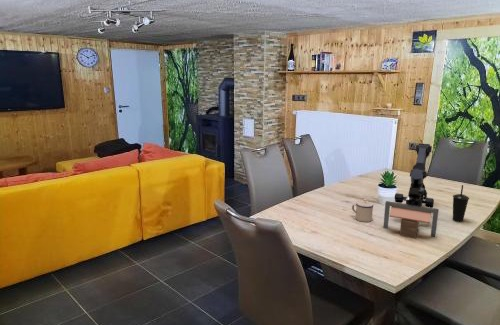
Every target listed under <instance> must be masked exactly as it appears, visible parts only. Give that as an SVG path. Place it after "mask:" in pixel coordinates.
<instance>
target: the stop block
mask: <svg viewBox="0 0 500 325" xmlns="http://www.w3.org/2000/svg"><path fill="white" fill-rule="evenodd" d="M419 226H420V222H417V221H411V220H406V219H400V230H399V236H401V237H406V238H410V239H416V237H417V234H418V231H419Z"/></svg>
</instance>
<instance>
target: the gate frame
mask: <svg viewBox="0 0 500 325" xmlns="http://www.w3.org/2000/svg"><path fill="white" fill-rule="evenodd" d="M384 205H385V206H384V216H383V229H388V228H389V222H390V221H389V219H390V217H389V215H390V211H391V207H399V208H405V209H411V210H417V211H424V212H430V213H431V214H433V215H432V223H431V230H430V238H436V236H437V235H436V234H437V233H436V232H437V226H438V225H437V224H438V218H439V208H434V207H433V208H430V207H426V206H423V205H422V206H423V207H422V206H415V205H409V204H406V203H403V202H402V203H398V202H395V201H386V200H385V204H384Z"/></svg>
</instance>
